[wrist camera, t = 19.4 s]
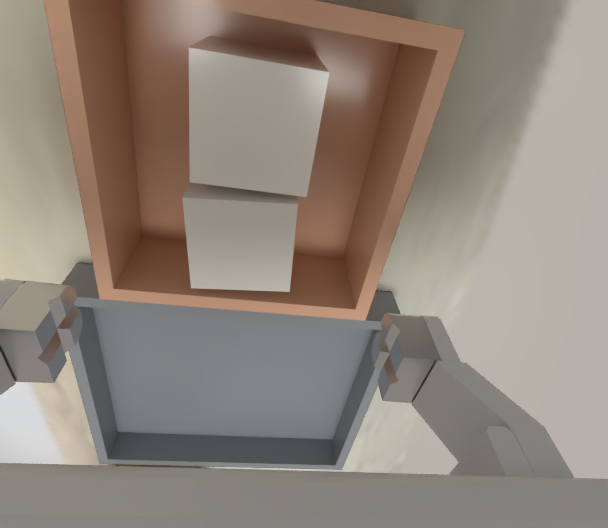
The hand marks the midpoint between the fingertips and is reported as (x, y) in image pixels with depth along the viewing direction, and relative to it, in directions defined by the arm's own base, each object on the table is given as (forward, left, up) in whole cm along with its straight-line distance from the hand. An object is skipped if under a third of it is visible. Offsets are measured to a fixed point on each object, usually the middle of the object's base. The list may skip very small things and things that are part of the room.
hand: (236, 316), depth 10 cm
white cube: (-4, 0, -9) cm, 9 cm away
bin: (-2, 0, -9) cm, 9 cm away
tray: (+13, 0, -9) cm, 16 cm away
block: (+1, 0, -9) cm, 9 cm away
